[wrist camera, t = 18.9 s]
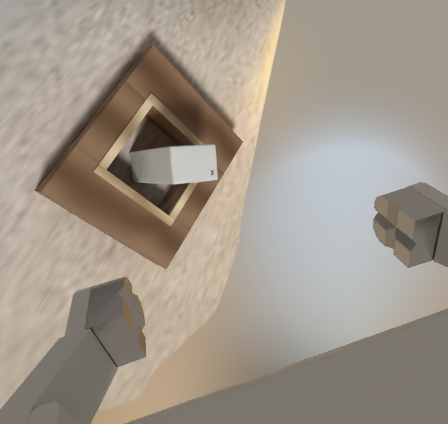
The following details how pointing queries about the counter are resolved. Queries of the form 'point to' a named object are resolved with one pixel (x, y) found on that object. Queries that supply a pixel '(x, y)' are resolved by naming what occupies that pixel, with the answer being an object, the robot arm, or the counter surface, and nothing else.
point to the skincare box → (174, 164)
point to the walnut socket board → (112, 144)
